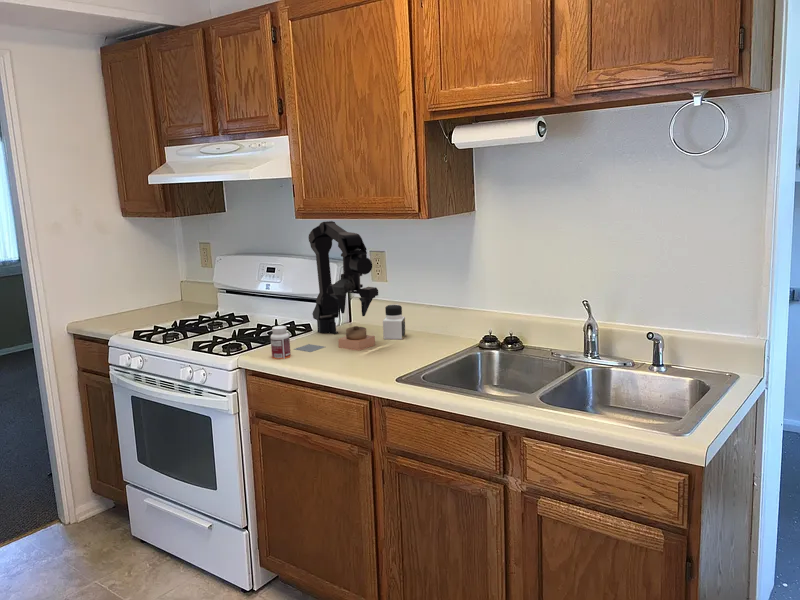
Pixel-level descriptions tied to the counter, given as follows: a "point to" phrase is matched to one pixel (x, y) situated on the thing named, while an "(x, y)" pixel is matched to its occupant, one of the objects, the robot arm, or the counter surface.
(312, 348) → the coaster mat
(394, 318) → the medicine bottle
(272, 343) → the pill bottle
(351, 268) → the robot arm
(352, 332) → the walnut lid
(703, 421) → the counter surface
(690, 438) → the counter surface
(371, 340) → the salmon pink square box
